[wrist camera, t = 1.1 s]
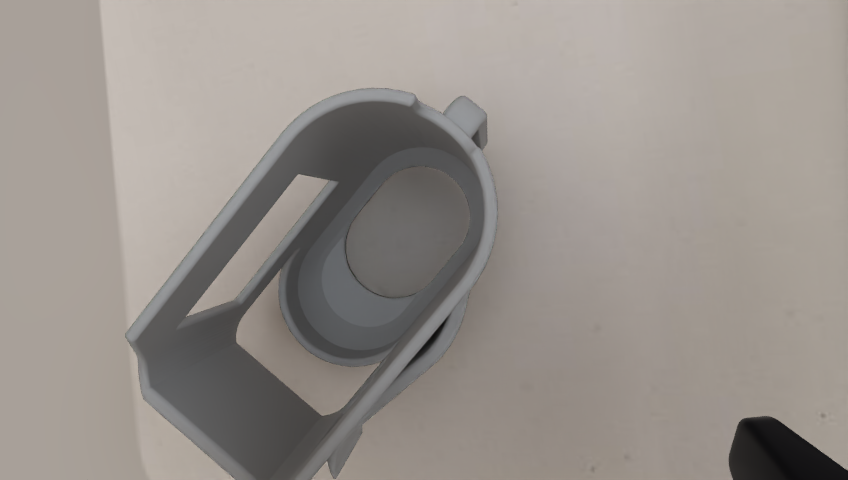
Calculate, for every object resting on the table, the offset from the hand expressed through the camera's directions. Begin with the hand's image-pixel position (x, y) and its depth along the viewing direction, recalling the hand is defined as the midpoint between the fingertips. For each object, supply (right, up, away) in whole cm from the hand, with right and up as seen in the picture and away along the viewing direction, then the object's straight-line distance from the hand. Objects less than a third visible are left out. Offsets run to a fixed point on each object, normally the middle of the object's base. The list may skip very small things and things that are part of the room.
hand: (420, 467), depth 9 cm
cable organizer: (-2, +2, +19) cm, 19 cm away
